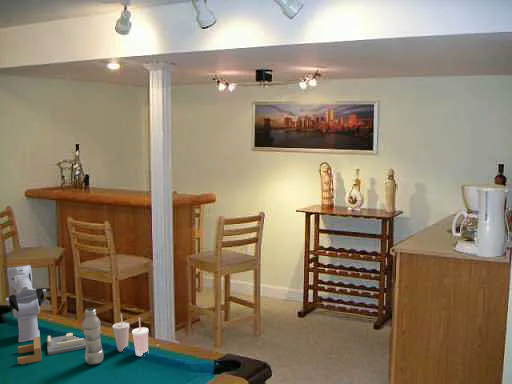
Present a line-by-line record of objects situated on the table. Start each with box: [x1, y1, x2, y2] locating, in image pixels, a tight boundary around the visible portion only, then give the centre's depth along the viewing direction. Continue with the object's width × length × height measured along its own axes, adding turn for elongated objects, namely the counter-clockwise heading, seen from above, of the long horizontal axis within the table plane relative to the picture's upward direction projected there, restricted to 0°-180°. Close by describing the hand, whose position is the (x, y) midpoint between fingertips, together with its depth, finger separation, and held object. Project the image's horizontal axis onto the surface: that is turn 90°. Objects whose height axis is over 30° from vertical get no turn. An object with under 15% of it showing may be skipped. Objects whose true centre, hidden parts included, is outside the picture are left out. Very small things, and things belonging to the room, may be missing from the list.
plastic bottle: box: [81, 307, 104, 366], centre depth 205 cm, size 6×7×20 cm
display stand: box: [46, 332, 86, 356], centre depth 224 cm, size 14×17×3 cm
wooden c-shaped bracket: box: [17, 335, 43, 365], centre depth 214 cm, size 8×12×5 cm, turn 22°
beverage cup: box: [131, 316, 149, 357], centre depth 212 cm, size 6×6×14 cm
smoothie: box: [112, 313, 131, 353], centre depth 216 cm, size 6×6×14 cm
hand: (28, 306), depth 212 cm, fingers open, 7 cm apart
